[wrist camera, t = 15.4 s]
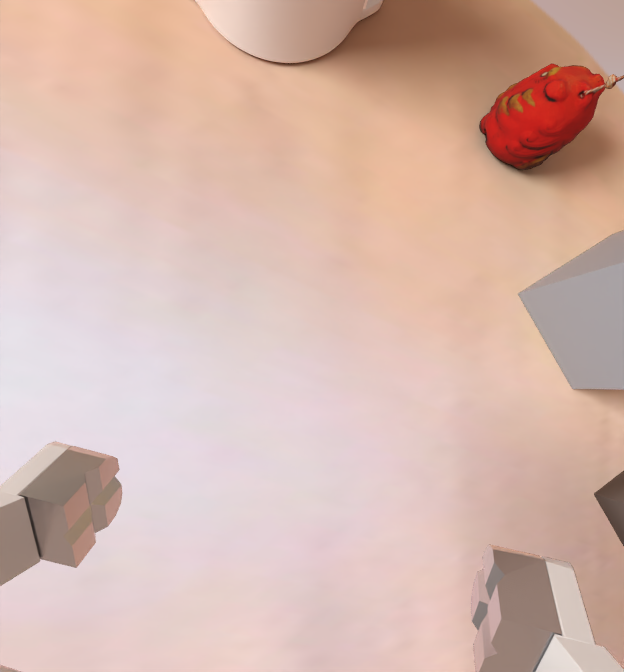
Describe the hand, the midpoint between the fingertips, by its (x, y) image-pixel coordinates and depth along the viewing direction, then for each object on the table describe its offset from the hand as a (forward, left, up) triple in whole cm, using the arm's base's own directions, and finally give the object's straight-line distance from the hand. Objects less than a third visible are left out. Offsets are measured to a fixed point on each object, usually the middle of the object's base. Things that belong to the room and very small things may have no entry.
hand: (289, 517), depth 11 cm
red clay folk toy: (-25, +26, -29) cm, 46 cm away
